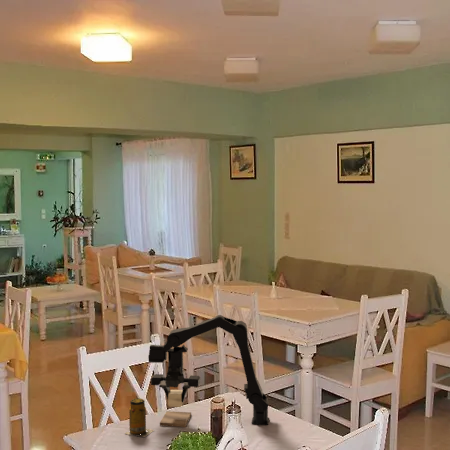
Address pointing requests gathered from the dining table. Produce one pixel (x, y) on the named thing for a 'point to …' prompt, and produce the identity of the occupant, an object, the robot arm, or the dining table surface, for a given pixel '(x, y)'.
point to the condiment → (138, 418)
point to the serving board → (175, 419)
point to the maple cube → (175, 398)
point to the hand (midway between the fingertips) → (175, 401)
